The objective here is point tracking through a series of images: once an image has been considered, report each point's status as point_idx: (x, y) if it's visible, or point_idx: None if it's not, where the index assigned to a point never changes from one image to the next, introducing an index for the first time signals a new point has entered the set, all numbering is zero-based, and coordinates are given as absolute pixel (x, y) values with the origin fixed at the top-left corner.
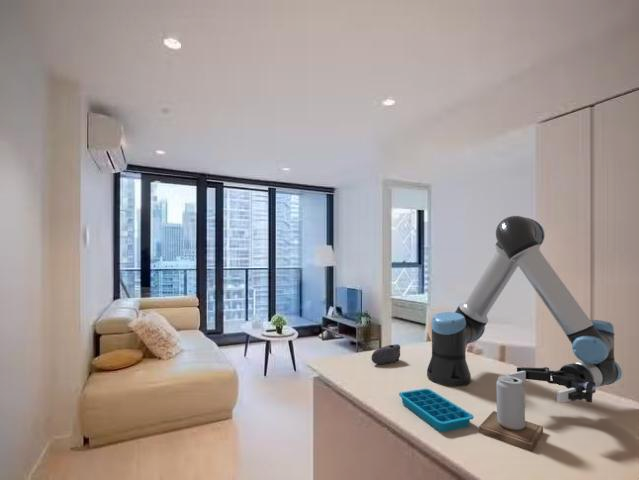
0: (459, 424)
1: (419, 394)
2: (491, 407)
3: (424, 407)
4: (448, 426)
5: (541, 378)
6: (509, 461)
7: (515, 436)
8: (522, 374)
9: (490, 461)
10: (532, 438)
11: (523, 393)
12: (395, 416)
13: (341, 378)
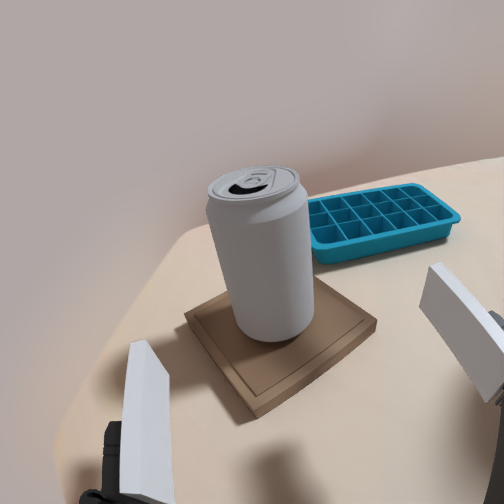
0: None
1: (437, 211)
2: (438, 350)
3: (365, 201)
4: None
5: (493, 495)
6: (184, 273)
7: (223, 299)
8: (488, 352)
9: (197, 252)
10: (205, 332)
11: (212, 234)
12: (355, 190)
13: (474, 167)
